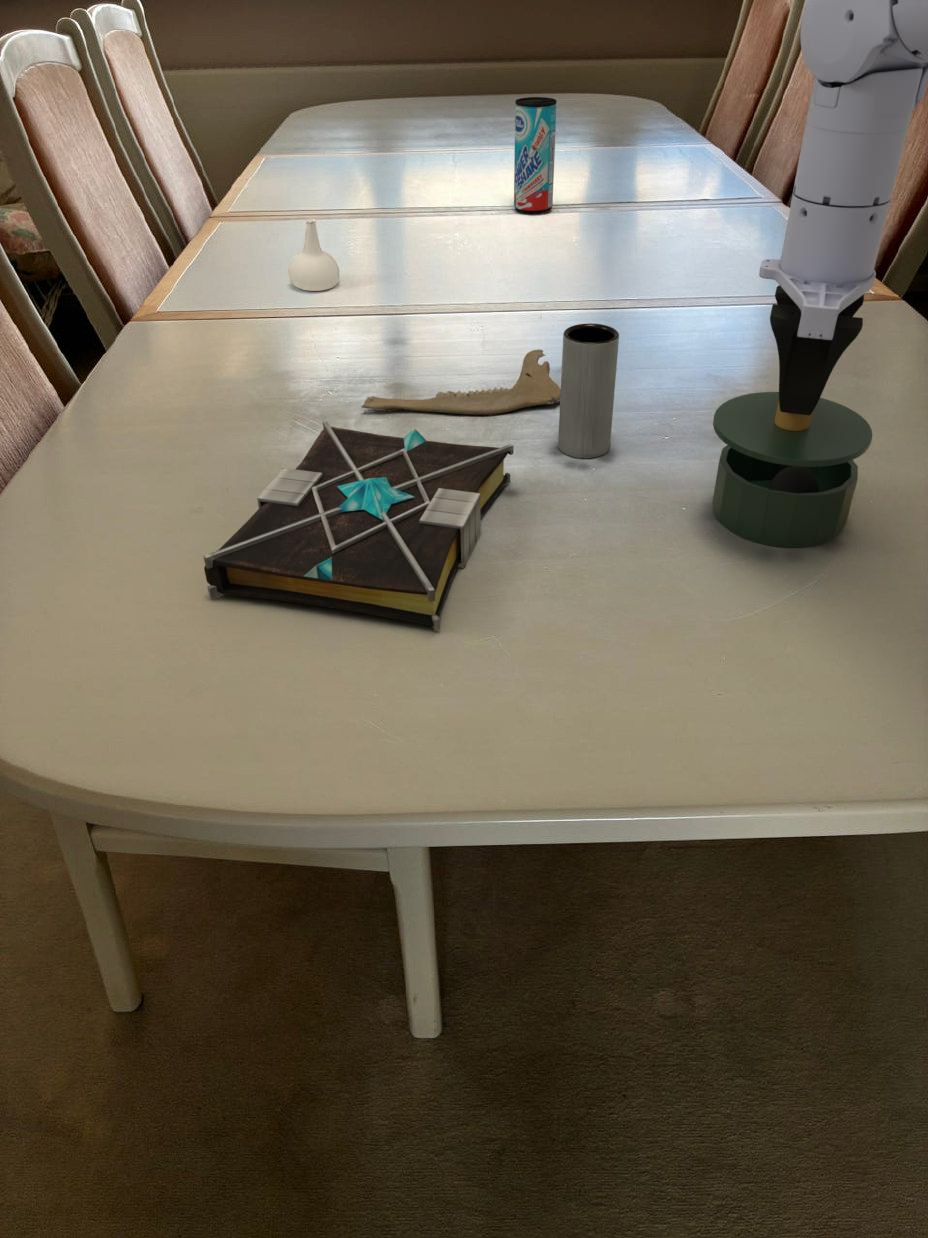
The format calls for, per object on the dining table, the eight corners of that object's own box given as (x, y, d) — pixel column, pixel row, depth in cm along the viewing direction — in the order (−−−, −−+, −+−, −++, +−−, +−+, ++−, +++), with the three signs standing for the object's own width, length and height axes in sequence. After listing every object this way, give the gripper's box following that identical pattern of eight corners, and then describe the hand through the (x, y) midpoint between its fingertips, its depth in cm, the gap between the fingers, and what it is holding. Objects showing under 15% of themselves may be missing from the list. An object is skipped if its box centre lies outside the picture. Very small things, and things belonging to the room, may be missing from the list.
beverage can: (506, 208, 148) (507, 99, 138) (539, 203, 150) (542, 95, 141) (526, 217, 143) (529, 105, 134) (559, 212, 146) (564, 101, 136)
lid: (868, 415, 71) (890, 335, 67) (868, 485, 63) (892, 398, 59) (720, 397, 74) (733, 319, 70) (702, 461, 66) (715, 378, 62)
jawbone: (590, 402, 93) (592, 383, 91) (401, 456, 85) (400, 436, 84) (539, 364, 99) (541, 345, 97) (358, 411, 91) (357, 391, 90)
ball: (798, 507, 76) (830, 475, 74) (796, 530, 73) (829, 497, 71) (761, 482, 76) (792, 449, 74) (758, 503, 73) (790, 470, 71)
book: (325, 457, 83) (319, 404, 80) (514, 481, 80) (515, 426, 77) (207, 600, 67) (194, 540, 64) (437, 638, 63) (435, 576, 60)
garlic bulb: (313, 274, 124) (306, 209, 119) (350, 282, 121) (345, 216, 116) (279, 288, 120) (270, 221, 115) (317, 297, 117) (310, 228, 112)
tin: (845, 491, 77) (858, 442, 75) (843, 557, 70) (857, 505, 67) (720, 474, 80) (728, 426, 77) (704, 535, 73) (712, 484, 70)
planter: (618, 454, 83) (628, 338, 77) (569, 462, 82) (576, 346, 76) (596, 432, 87) (605, 320, 80) (550, 439, 86) (554, 326, 79)
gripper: (781, 164, 65) (747, 356, 73) (764, 222, 54) (726, 440, 62) (892, 170, 63) (844, 367, 71) (897, 232, 52) (840, 455, 61)
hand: (796, 402), depth 67 cm, fingers closed on lid, 2 cm apart
